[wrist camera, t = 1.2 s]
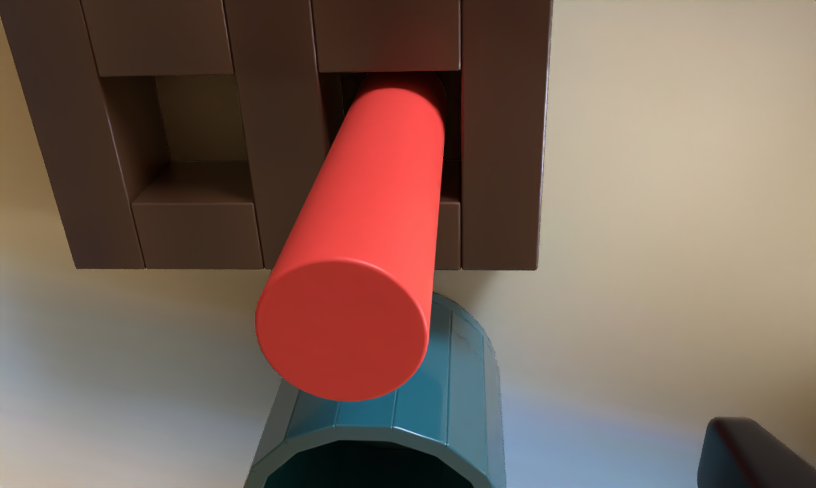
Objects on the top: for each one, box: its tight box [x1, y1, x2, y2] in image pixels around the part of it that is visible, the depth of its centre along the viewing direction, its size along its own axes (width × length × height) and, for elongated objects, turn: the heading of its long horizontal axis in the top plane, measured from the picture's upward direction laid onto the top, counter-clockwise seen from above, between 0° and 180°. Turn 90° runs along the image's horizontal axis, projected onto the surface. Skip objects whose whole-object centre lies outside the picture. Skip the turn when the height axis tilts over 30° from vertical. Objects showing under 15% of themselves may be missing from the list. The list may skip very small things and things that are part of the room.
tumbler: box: [243, 292, 507, 488], centre depth 21 cm, size 7×7×6 cm
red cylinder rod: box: [254, 71, 447, 402], centre depth 15 cm, size 2×2×11 cm
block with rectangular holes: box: [0, 0, 553, 271], centre depth 17 cm, size 13×13×3 cm
